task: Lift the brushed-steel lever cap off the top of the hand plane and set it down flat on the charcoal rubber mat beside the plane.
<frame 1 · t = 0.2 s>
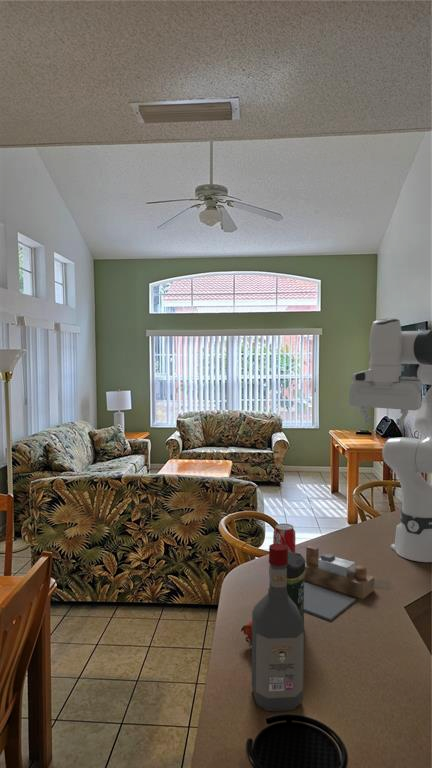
hand: (383, 423, 150), 47 cm above the kitchen counter, tool pointing down, fingers open, 8 cm apart
rubber mat: (313, 600, 143), on the kitchen counter
hand plane: (336, 584, 153), on the kitchen counter
lever cap: (336, 570, 152), point 4 cm above the kitchen counter, touching hand plane
soda can: (284, 563, 168), on the kitchen counter
liquor: (276, 697, 103), on the kitchen counter
dragon fruit: (266, 650, 119), on the kitchen counter
coffee jar: (286, 631, 127), on the kitchen counter
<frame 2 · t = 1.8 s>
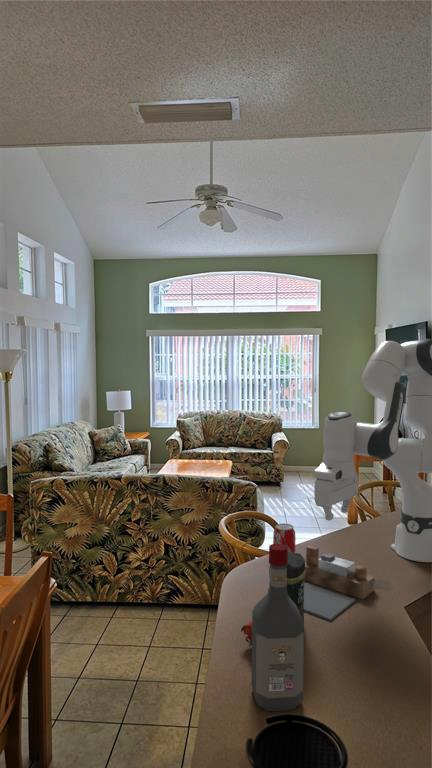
hand: (337, 515, 151), 20 cm above the kitchen counter, tool pointing down, fingers open, 8 cm apart
nothing on the kitchen counter moved.
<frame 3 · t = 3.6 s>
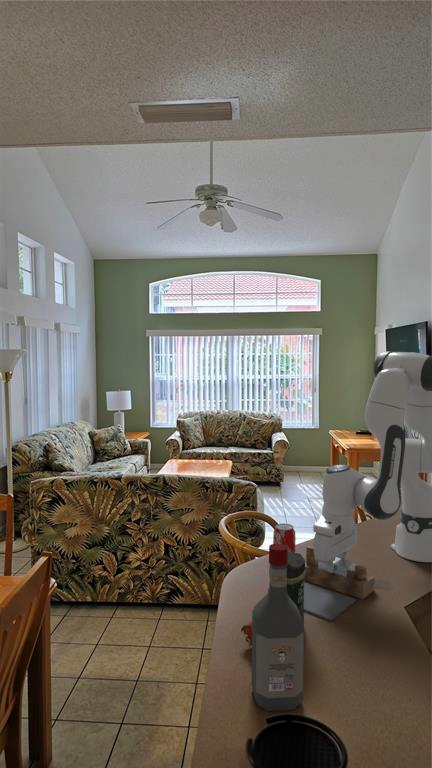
hand: (336, 567, 152), 5 cm above the kitchen counter, tool pointing down, fingers closed on lever cap, 5 cm apart
lever cap: (336, 570, 152), point 4 cm above the kitchen counter, touching gripper, hand plane
everything else where it was.
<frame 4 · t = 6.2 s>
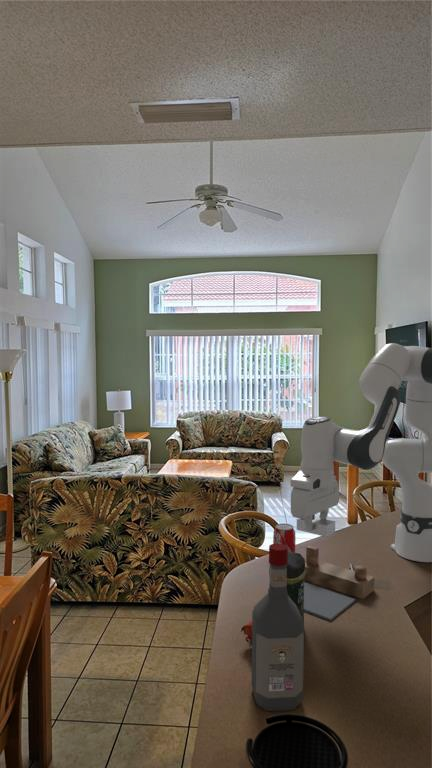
hand: (315, 527, 142), 20 cm above the kitchen counter, tool pointing down, fingers closed on lever cap, 5 cm apart
lever cap: (315, 531, 142), point 19 cm above the kitchen counter, touching gripper
everything else where it was.
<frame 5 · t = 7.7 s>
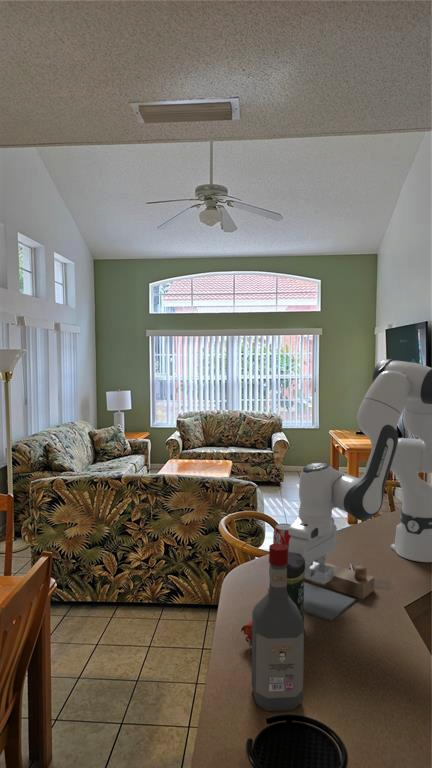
hand: (314, 573, 142), 8 cm above the kitchen counter, tool pointing down, fingers closed on lever cap, 5 cm apart
lever cap: (314, 576, 142), point 7 cm above the kitchen counter, touching gripper
everything else where it was.
when the fingers open (3 cm above the kitchen counter, at t = 9.0 s): lever cap drops 1 cm, resting on rubber mat.
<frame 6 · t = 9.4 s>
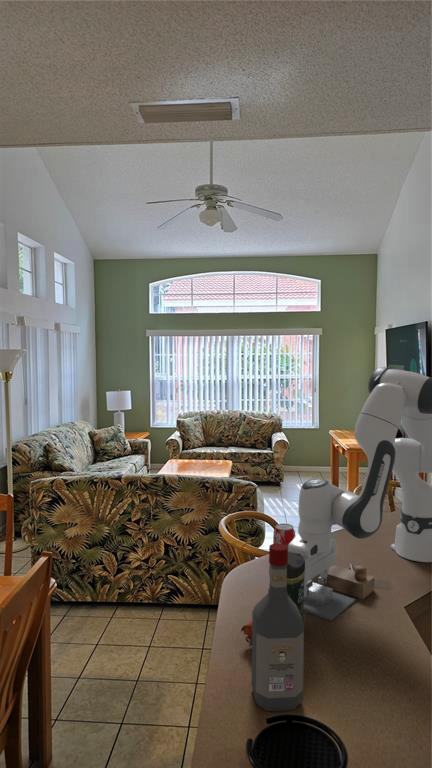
hand: (313, 589, 143), 3 cm above the kitchen counter, tool pointing down, fingers open, 8 cm apart
lever cap: (313, 597, 143), point 1 cm above the kitchen counter, touching rubber mat
everything else where it was.
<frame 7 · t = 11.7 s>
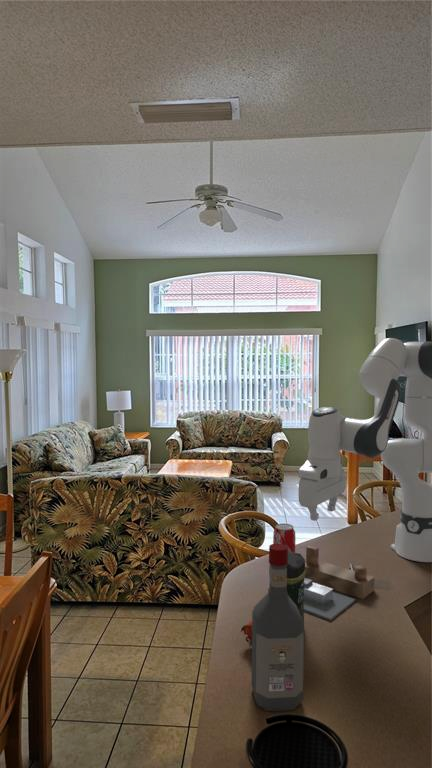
hand: (323, 515, 146), 22 cm above the kitchen counter, tool pointing down, fingers open, 8 cm apart
nothing on the kitchen counter moved.
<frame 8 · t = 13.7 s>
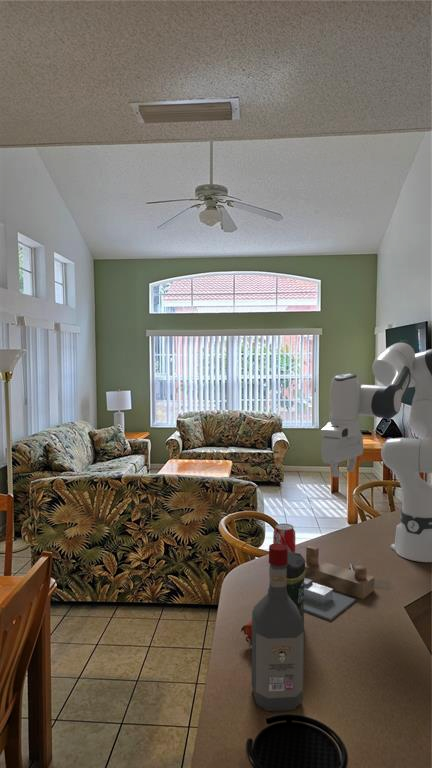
hand: (343, 473, 157), 31 cm above the kitchen counter, tool pointing down, fingers open, 8 cm apart
nothing on the kitchen counter moved.
at the end: lever cap inside the target area on the rubber mat (0.1 cm from its centre), point 0.6 cm above the rubber mat's base; lever cap tilted 0°; the gripper is holding nothing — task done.
